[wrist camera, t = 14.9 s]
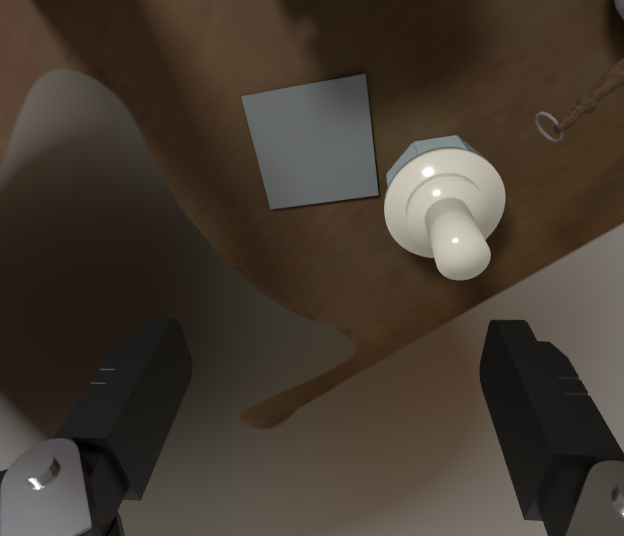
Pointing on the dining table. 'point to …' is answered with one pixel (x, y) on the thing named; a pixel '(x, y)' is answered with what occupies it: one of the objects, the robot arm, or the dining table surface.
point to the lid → (446, 209)
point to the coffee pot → (587, 103)
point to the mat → (314, 141)
